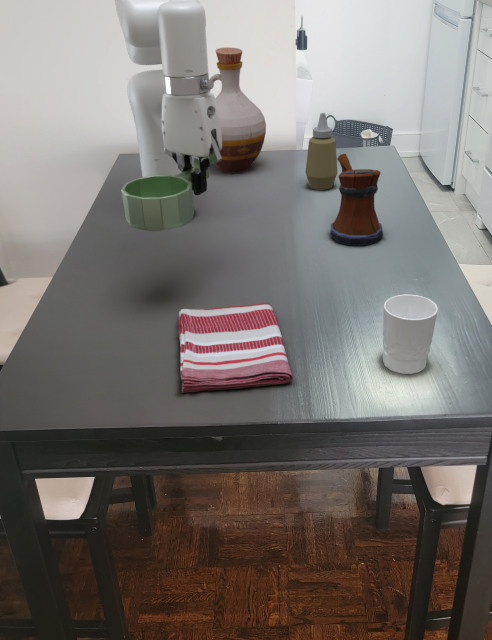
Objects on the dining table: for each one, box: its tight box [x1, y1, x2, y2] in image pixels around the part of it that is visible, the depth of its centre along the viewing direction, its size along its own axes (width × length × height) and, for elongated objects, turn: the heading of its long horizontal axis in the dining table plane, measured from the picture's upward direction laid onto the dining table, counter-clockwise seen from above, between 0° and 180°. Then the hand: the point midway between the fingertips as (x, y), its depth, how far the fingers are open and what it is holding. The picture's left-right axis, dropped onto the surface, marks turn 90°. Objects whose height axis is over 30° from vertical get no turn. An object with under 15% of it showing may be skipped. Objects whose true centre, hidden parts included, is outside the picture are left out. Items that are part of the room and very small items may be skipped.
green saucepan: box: [121, 166, 210, 232], centre depth 121 cm, size 20×12×6 cm, turn 147°
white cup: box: [382, 293, 439, 375], centre depth 106 cm, size 8×8×10 cm
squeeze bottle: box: [305, 112, 338, 191], centre depth 171 cm, size 8×8×18 cm
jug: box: [208, 47, 267, 174], centre depth 182 cm, size 20×18×30 cm
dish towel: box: [178, 302, 294, 394], centre depth 112 cm, size 17×23×3 cm
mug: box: [330, 153, 384, 247], centre depth 148 cm, size 18×12×15 cm, turn 11°
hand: (195, 191), depth 126 cm, fingers closed on green saucepan
